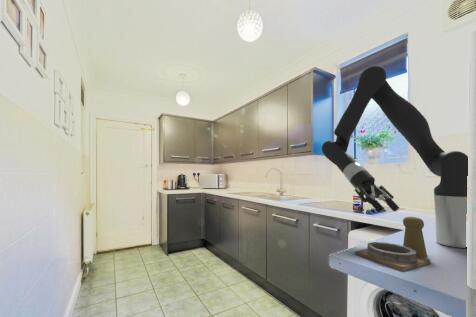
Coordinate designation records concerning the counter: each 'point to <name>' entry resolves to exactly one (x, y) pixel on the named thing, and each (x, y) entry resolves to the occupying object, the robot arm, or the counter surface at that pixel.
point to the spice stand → (392, 255)
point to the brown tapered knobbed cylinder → (414, 235)
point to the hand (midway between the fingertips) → (389, 210)
